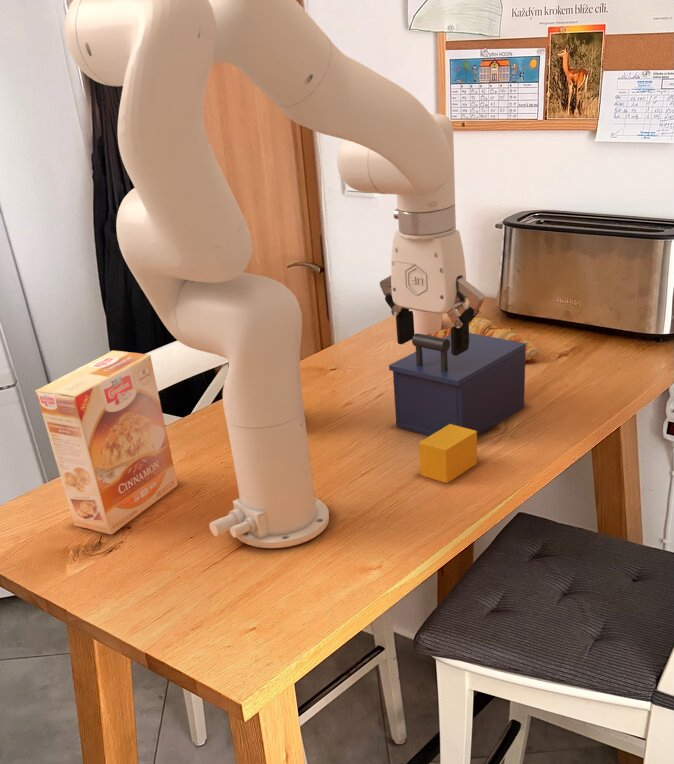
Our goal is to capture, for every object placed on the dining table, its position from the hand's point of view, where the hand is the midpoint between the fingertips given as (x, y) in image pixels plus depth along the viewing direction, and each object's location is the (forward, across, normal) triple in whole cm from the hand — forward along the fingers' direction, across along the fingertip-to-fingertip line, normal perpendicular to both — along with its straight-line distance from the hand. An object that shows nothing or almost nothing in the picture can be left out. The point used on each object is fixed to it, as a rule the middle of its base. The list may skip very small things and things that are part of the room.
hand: (432, 346), depth 130 cm
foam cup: (+14, -31, +36) cm, 49 cm away
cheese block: (+13, +9, -9) cm, 18 cm away
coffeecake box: (+13, -22, -42) cm, 49 cm away
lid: (+4, 0, +6) cm, 7 cm away
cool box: (+13, 0, +6) cm, 15 cm away
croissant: (+14, -12, +29) cm, 34 cm away
